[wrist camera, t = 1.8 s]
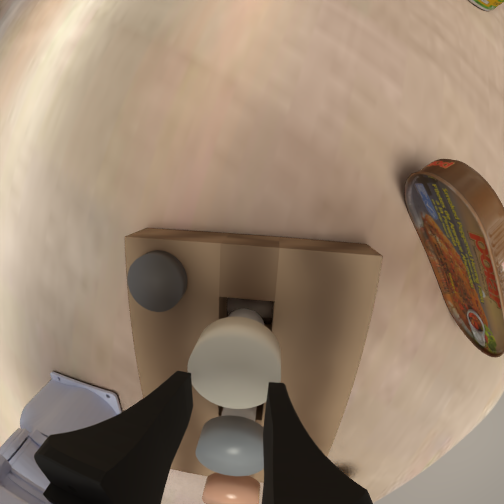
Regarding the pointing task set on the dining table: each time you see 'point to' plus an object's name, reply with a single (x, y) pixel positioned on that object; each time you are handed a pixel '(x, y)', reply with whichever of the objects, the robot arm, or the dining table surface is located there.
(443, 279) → the tin
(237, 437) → the knob slate
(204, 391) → the knob cream
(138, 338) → the board
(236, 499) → the peach pink ball
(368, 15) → the dining table surface
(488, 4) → the supplement bottle
